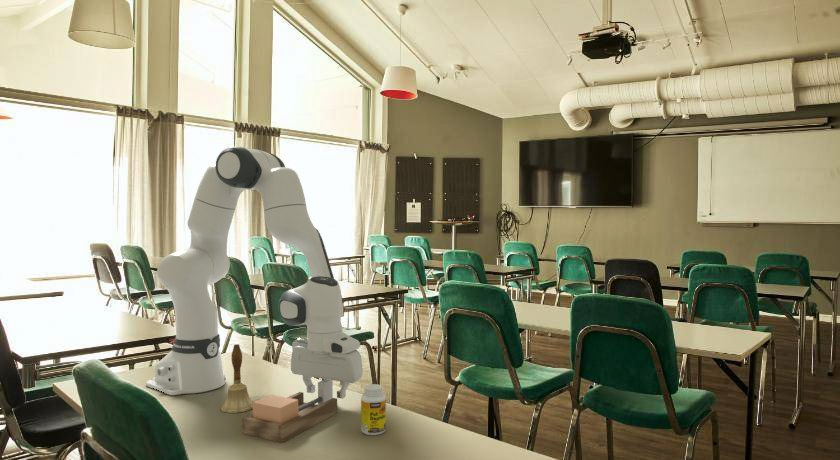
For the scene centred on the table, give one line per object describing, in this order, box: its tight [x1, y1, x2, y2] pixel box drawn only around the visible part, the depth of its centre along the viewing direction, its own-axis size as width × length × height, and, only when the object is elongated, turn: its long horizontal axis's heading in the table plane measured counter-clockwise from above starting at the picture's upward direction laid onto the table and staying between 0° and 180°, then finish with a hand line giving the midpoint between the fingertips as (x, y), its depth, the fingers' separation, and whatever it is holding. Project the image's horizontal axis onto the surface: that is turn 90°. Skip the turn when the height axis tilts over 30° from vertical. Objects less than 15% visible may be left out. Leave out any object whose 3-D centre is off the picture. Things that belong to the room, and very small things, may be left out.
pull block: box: [252, 379, 334, 424], centre depth 139 cm, size 8×24×6 cm, turn 153°
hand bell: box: [220, 343, 254, 414], centre depth 146 cm, size 8×8×16 cm
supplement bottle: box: [360, 383, 387, 436], centre depth 130 cm, size 6×6×10 cm
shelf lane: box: [241, 391, 338, 444], centre depth 136 cm, size 12×20×4 cm, turn 153°
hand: (326, 395), depth 148 cm, fingers open, 8 cm apart
